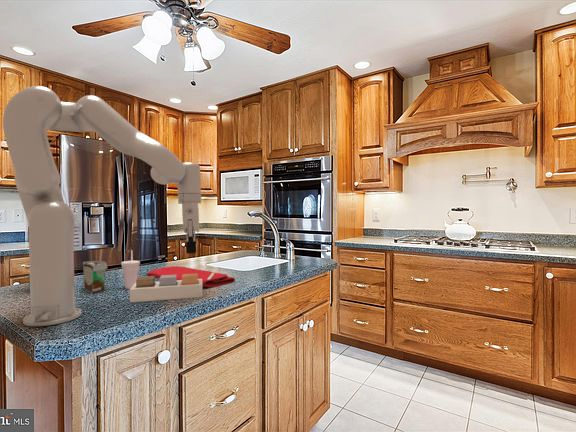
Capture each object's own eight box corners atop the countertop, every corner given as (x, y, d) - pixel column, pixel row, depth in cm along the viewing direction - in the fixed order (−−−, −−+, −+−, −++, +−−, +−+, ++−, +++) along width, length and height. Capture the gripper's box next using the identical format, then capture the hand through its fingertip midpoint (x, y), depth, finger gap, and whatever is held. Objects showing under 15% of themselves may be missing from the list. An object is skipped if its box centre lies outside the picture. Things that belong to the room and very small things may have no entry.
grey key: (175, 287, 107) (175, 277, 107) (159, 288, 106) (159, 278, 106) (176, 283, 112) (176, 274, 112) (161, 284, 111) (161, 275, 110)
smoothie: (132, 290, 117) (132, 251, 116) (117, 289, 118) (116, 251, 118) (144, 286, 123) (143, 249, 123) (129, 285, 124) (128, 249, 124)
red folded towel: (178, 271, 155) (178, 263, 155) (236, 283, 129) (235, 274, 129) (146, 276, 143) (146, 268, 143) (203, 291, 117) (203, 280, 117)
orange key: (197, 285, 109) (197, 276, 109) (182, 286, 108) (182, 277, 108) (197, 282, 114) (197, 273, 114) (182, 283, 112) (182, 274, 112)
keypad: (202, 297, 107) (202, 285, 107) (129, 302, 101) (129, 289, 101) (202, 289, 117) (202, 278, 117) (135, 294, 111) (135, 282, 111)
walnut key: (153, 288, 105) (152, 278, 105) (136, 289, 104) (136, 279, 104) (155, 285, 110) (154, 275, 110) (139, 286, 109) (138, 276, 109)
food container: (113, 291, 116) (112, 263, 115) (93, 294, 111) (93, 265, 111) (101, 285, 124) (101, 259, 124) (83, 288, 119) (82, 261, 119)
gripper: (201, 198, 104) (203, 255, 105) (200, 199, 118) (202, 249, 119) (176, 199, 102) (178, 256, 103) (179, 200, 116) (181, 250, 117)
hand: (191, 252), depth 111 cm, fingers closed
